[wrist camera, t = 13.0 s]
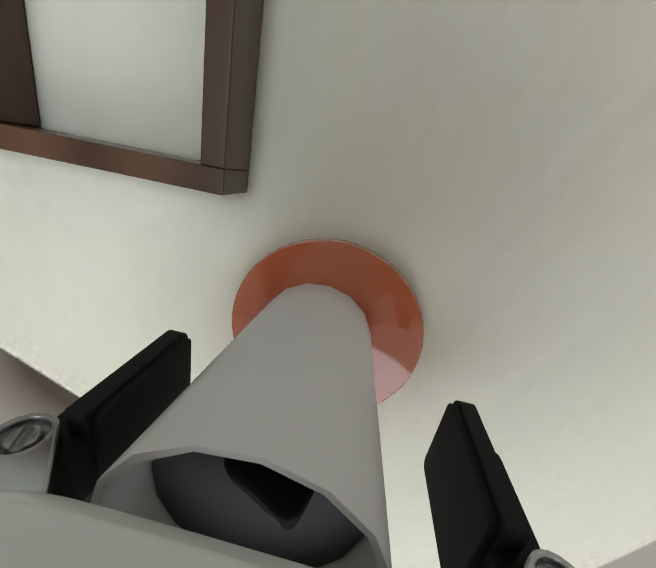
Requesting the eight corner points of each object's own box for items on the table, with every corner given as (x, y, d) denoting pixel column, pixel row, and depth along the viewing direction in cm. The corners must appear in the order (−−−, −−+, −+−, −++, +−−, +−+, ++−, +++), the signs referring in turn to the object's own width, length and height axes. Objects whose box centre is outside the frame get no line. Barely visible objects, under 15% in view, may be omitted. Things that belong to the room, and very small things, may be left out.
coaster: (448, 262, 14) (451, 266, 14) (393, 423, 18) (393, 432, 17) (244, 218, 15) (239, 220, 14) (230, 383, 18) (225, 389, 18)
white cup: (266, 257, 15) (83, 397, 5) (398, 298, 14) (449, 520, 5) (243, 366, 17) (87, 597, 8) (356, 403, 17) (338, 686, 7)
